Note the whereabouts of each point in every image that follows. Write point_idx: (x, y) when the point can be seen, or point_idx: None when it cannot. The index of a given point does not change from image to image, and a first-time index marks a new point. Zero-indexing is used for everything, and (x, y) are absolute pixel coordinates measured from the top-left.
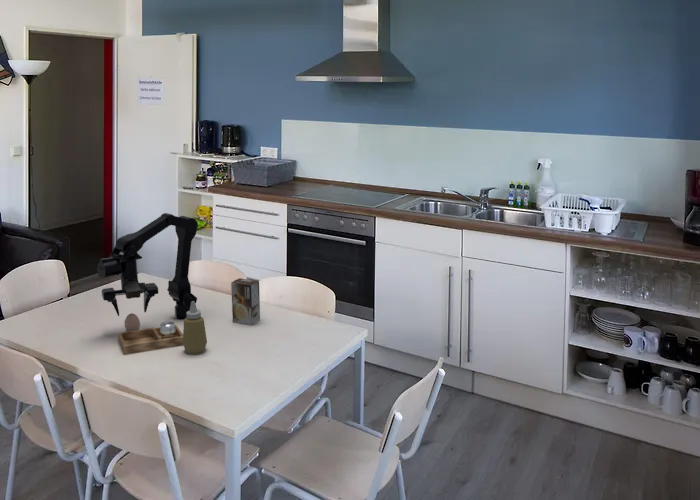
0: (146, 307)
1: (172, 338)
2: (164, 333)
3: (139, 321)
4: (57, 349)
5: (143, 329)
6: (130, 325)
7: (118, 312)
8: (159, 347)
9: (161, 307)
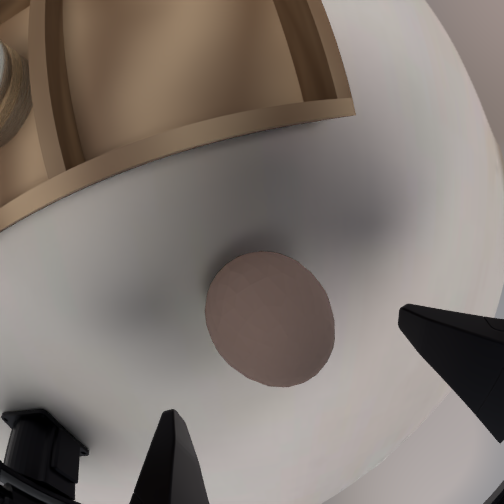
0: (153, 455)
1: None
2: None
3: (211, 330)
4: (475, 137)
5: (147, 156)
6: (279, 259)
7: (431, 316)
8: None
9: None
